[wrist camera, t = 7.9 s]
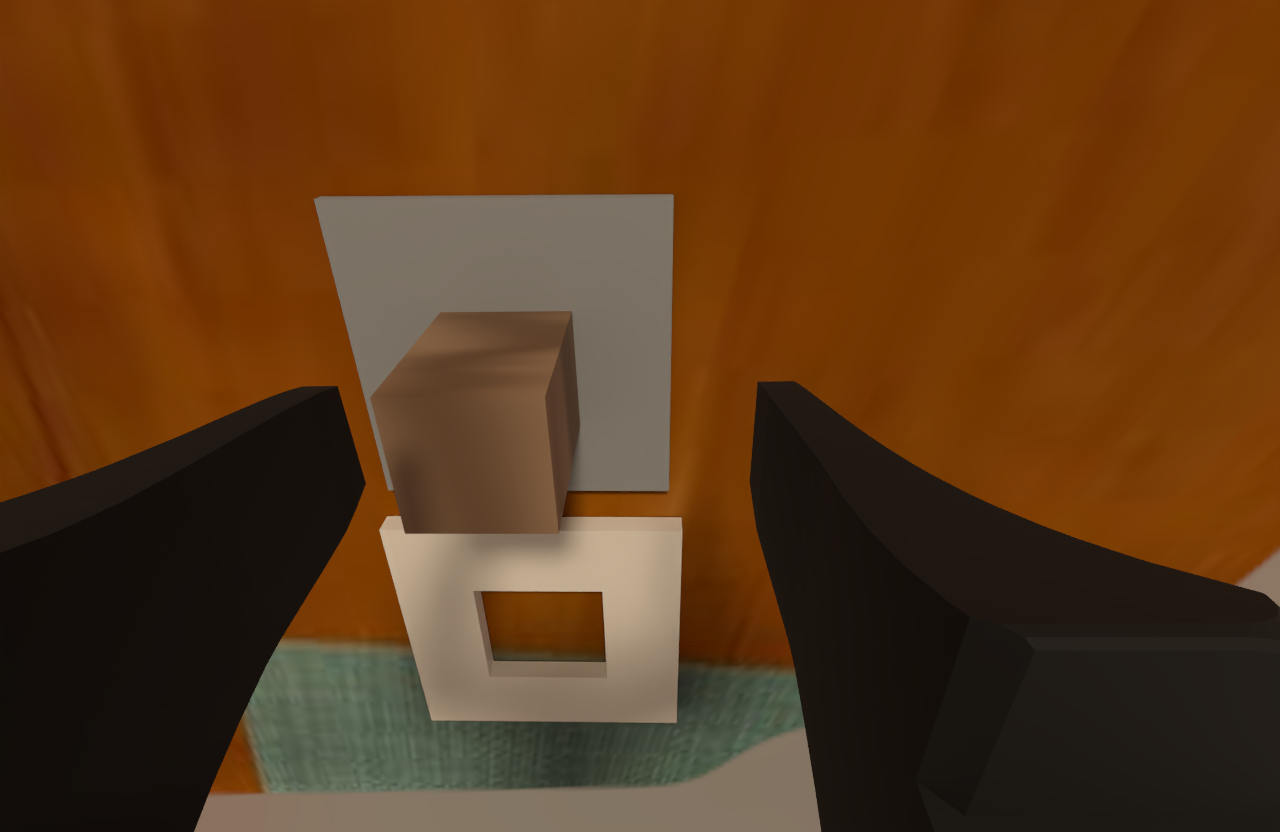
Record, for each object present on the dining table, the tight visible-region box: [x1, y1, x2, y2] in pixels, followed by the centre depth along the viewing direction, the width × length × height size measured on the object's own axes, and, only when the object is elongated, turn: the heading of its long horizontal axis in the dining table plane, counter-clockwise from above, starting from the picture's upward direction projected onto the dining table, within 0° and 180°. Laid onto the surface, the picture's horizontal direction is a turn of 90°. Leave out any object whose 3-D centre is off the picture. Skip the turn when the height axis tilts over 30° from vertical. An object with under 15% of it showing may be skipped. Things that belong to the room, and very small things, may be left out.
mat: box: [314, 194, 674, 491], centre depth 20 cm, size 10×10×1 cm
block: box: [370, 311, 580, 534], centre depth 18 cm, size 4×4×6 cm
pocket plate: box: [379, 516, 682, 723], centre depth 26 cm, size 11×11×1 cm
